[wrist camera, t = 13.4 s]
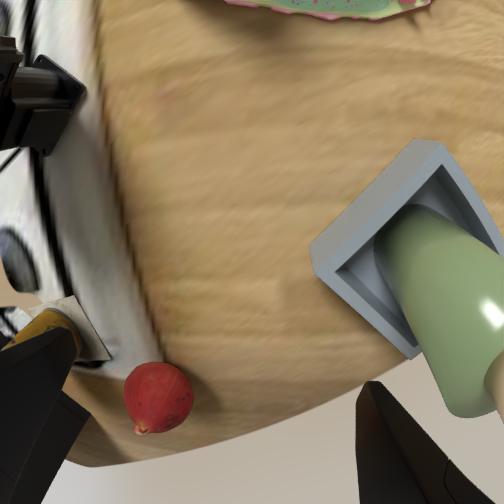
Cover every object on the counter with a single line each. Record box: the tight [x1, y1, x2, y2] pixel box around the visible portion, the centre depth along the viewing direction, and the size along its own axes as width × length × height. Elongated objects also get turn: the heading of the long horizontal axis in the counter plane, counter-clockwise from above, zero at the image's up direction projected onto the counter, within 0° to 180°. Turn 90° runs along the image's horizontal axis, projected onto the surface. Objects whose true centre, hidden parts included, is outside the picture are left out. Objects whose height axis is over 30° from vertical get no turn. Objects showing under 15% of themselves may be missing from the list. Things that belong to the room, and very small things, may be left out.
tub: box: [309, 138, 504, 360], centre depth 17 cm, size 10×10×4 cm
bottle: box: [373, 204, 504, 423], centre depth 12 cm, size 6×6×14 cm
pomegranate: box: [123, 362, 194, 435], centre depth 22 cm, size 6×6×8 cm
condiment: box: [1, 295, 111, 365], centre depth 21 cm, size 7×8×12 cm
